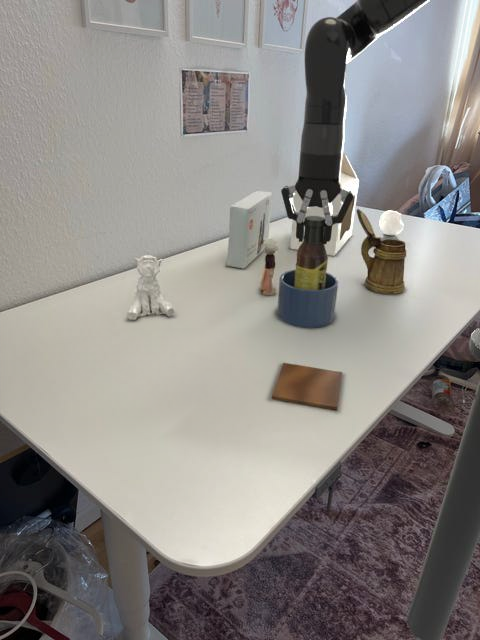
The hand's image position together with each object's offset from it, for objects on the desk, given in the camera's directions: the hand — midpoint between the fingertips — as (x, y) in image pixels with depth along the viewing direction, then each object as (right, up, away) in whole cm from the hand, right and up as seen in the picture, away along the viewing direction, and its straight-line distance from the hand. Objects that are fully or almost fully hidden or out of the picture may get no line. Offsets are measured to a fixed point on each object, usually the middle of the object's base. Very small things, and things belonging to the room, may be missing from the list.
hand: (313, 241), depth 93 cm
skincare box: (-12, +2, +39) cm, 41 cm away
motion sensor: (+34, +12, +60) cm, 70 cm away
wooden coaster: (-3, -26, -16) cm, 31 cm away
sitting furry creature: (-33, -13, +7) cm, 37 cm away
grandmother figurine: (-8, -9, +17) cm, 21 cm away
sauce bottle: (0, -14, +7) cm, 15 cm away
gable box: (+11, +8, +52) cm, 54 cm away
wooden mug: (+18, -7, +22) cm, 30 cm away
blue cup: (0, -14, +7) cm, 16 cm away
